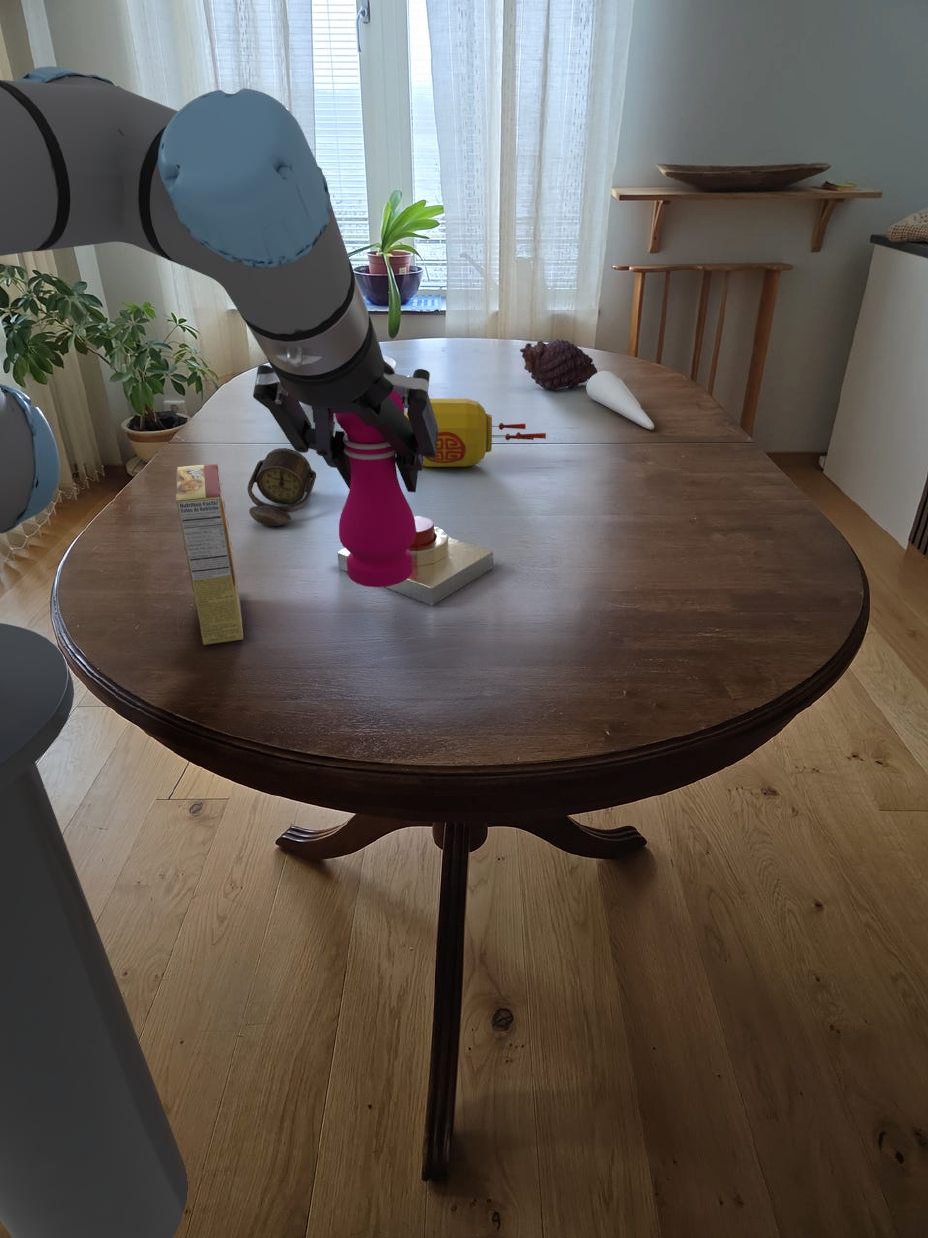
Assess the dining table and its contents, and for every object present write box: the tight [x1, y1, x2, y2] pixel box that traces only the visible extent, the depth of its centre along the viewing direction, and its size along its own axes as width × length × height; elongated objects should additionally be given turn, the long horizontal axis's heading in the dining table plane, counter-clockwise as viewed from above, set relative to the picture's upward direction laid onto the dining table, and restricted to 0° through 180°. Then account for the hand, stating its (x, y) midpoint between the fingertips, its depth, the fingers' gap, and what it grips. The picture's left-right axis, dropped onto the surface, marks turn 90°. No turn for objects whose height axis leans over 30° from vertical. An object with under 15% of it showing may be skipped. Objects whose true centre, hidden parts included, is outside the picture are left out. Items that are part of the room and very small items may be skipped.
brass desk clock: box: [246, 447, 317, 527], centre depth 104 cm, size 7×13×10 cm
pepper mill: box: [334, 391, 416, 588], centre depth 71 cm, size 7×7×20 cm
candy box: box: [175, 463, 244, 646], centre depth 77 cm, size 9×4×15 cm, turn 17°
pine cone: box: [519, 339, 598, 391], centre depth 157 cm, size 18×10×10 cm
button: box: [410, 515, 435, 547], centre depth 88 cm, size 4×4×2 cm
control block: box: [337, 525, 494, 607], centre depth 90 cm, size 14×11×4 cm
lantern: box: [344, 398, 547, 468], centre depth 118 cm, size 10×10×30 cm
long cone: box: [585, 370, 655, 431], centre depth 141 cm, size 6×6×19 cm
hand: (383, 477), depth 75 cm, fingers closed on pepper mill, 5 cm apart
